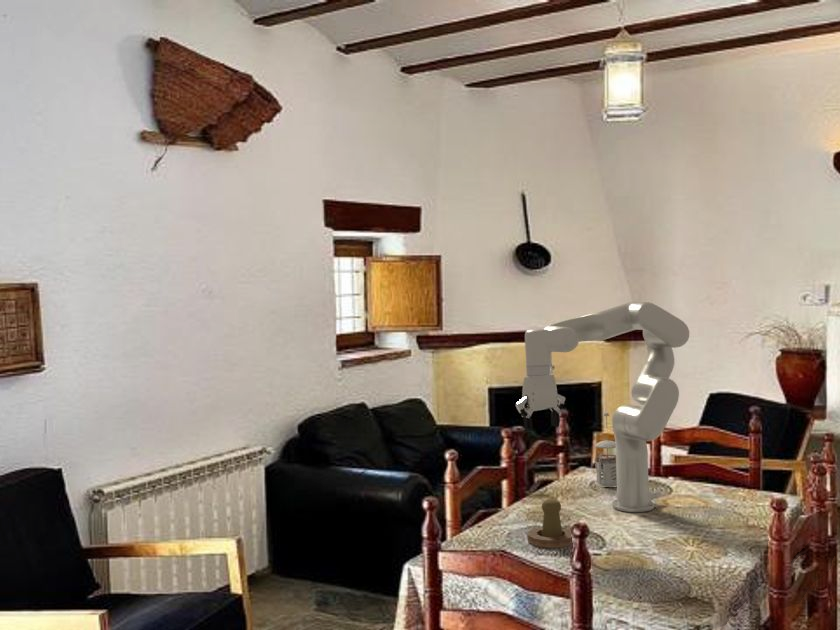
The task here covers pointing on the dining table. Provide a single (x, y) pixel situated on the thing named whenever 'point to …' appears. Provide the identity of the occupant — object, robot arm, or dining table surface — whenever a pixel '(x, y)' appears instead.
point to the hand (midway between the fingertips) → (542, 428)
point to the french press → (606, 464)
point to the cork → (551, 519)
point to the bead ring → (549, 538)
